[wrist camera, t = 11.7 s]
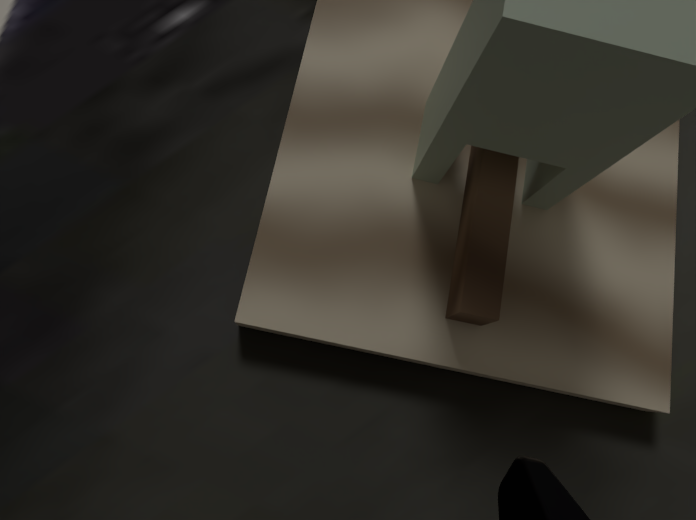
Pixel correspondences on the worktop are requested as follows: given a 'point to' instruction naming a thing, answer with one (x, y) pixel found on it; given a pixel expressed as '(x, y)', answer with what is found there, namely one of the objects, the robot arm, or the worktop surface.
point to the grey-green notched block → (560, 87)
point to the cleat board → (455, 230)
